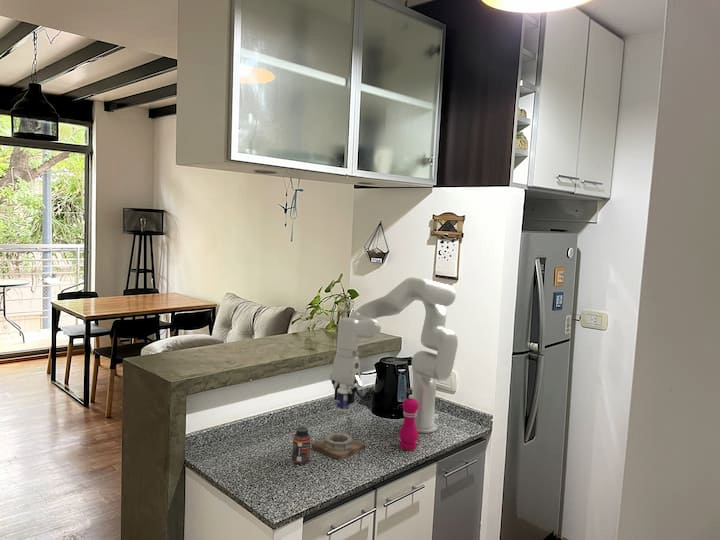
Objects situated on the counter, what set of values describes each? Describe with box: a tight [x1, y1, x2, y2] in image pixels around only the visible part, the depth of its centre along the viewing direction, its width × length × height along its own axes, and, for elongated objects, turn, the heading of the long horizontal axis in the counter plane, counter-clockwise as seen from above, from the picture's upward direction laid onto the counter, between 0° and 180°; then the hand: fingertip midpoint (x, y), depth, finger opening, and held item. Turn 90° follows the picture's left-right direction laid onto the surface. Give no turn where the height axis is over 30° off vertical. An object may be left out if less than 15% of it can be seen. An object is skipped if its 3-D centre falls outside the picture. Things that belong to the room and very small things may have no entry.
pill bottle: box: [335, 383, 352, 412], centre depth 192 cm, size 5×5×10 cm
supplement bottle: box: [291, 426, 311, 465], centre depth 182 cm, size 6×6×11 cm
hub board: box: [310, 432, 366, 461], centre depth 194 cm, size 14×14×4 cm
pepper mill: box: [398, 394, 419, 451], centre depth 198 cm, size 7×7×20 cm
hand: (344, 400), depth 192 cm, fingers closed on pill bottle, 5 cm apart
